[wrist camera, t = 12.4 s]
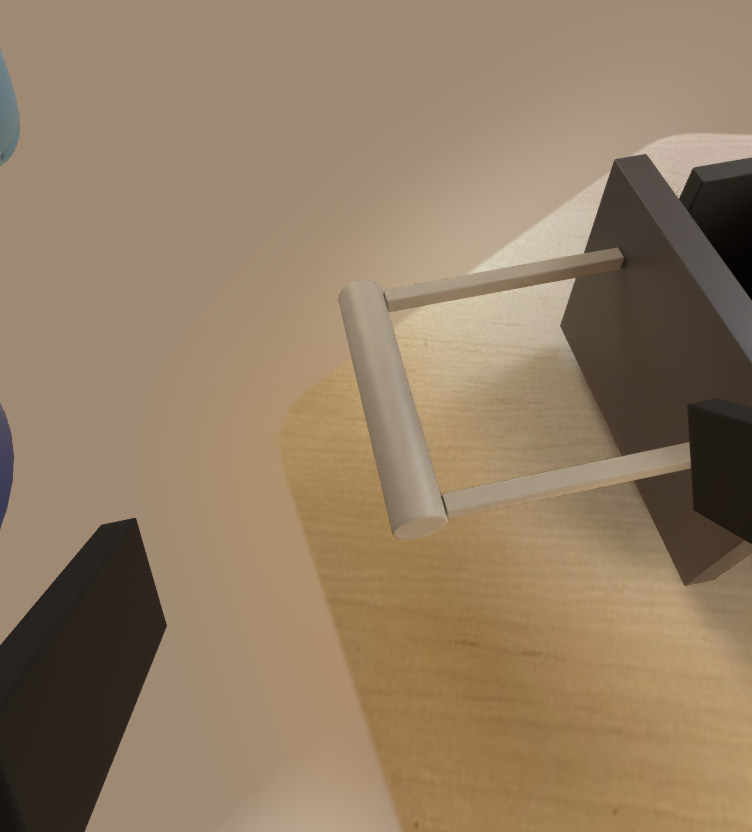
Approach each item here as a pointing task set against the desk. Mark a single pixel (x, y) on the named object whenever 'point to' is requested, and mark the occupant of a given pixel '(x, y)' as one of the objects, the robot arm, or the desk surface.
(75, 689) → the robot arm
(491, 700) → the desk surface
